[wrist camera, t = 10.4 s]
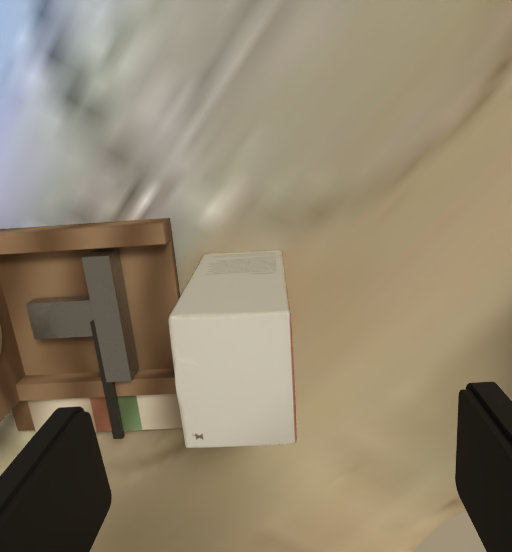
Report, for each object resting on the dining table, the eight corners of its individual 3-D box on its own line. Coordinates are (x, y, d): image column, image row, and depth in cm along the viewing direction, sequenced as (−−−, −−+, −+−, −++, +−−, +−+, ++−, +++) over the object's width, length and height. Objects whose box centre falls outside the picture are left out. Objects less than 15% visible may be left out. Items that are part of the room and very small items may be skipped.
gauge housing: (169, 218, 33) (135, 244, 24) (196, 417, 38) (175, 495, 30) (-31, 231, 34) (-131, 261, 25) (23, 424, 39) (-45, 502, 31)
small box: (288, 341, 36) (297, 448, 23) (212, 344, 36) (182, 452, 24) (283, 247, 33) (291, 310, 21) (202, 251, 34) (163, 316, 21)
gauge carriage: (118, 248, 33) (108, 255, 31) (148, 422, 37) (141, 438, 35) (23, 254, 33) (7, 262, 31) (64, 425, 38) (53, 442, 36)
